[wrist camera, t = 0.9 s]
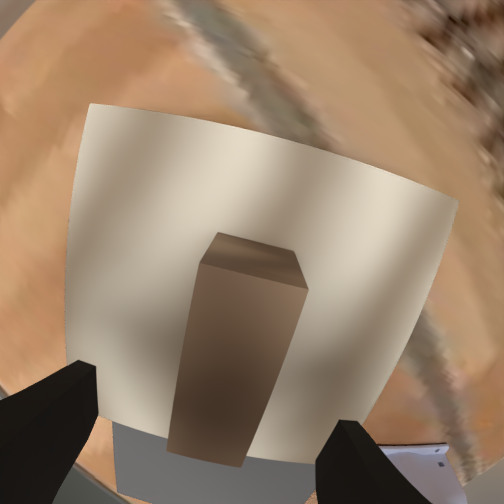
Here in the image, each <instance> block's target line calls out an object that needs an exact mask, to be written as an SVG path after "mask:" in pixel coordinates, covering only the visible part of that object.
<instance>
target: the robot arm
mask: <svg viewBox="0 0 504 504" xmlns="http://www.w3.org/2000/svg"><path fill="white" fill-rule="evenodd" d="M98 414H99V409H98V394H97V373H96V366H95V365H92V364H89V363H86V362H84V361H81V360H77V361H75V362H73V363H71V364H69V365H67V366H66V367H64V368H62V369H60V370H59V371H57V372H55V373H53V374H51V375H50V376H48V377H46V378H44V379H42V380H41V381H39V382H37V383H35V384H33V385H31V386H29V387H27V388H26V389H24V390H22V391H20V392H18V393H15V394H13V395H11V396H9V397H7V398H5V399H2V400H0V504H52V502H53V500H54V498H55V496H56V494H57V492H58V490H59V488H60V486H61V484H62V483H63V481H64V479H65V477H66V476H67V474H68V472H69V471H70V469H71V467H72V466H73V464H74V462H75V461H76V459H77V457H78V455H79V454H80V452H81V450H82V449H83V447H84V445H85V443H86V442H87V440H88V438H89V436H90V433H91V431H92V429H93V426H94V424H95V421H96V419H97V417H98ZM448 449H449V446H448V444H439V445H421V446H378V445H377V444H376V443H375V441H374V440H373V439H372V438H371V437H370V435H369V434H368V433H367V432H366V430H365V429H364V428H363V427H362V426H361V425H360V423H359V422H358V421H353V420H340V419H339V420H338V422H337V424H336V426H335V428H334V429H333V431H332V433H331V435H330V436H329V438H328V440H327V442H326V443H325V445H324V447H323V448H322V450H321V452H320V453H319V455H318V456H317V458H316V460H315V483H316V494H317V500H318V504H467V499H466V495H465V492H464V490H463V488H462V486H461V484H460V482H459V480H458V478H457V476H456V474H455V472H454V470H453V468H452V466H451V465H450V463H449V461H448V459H447V457H446V455H445V453H446V452H447V450H448Z"/></svg>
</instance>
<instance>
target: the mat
mask: <svg viewBox="0 0 504 504" xmlns="http://www.w3.org/2000/svg"><path fill="white" fill-rule="evenodd" d="M112 426H113V447H114V462H115V474H116V484H117V492H118V493H121V494H123V495H126V496H129V497H133V498H136V499H139V500H142V501H145V502H149V503H152V504H304V503H305V502H306V501H307V499H308V498H309V497H310V496H311V494H312V493H313V492H314V491H315V489H316V483H315V464H307V463H296V462H286V461H278V460H270V459H263V458H256V457H250V456H246V457H245V460H244V462H243V464H242V467H241V468H238V467H232V466H227V465H222V464H216V463H212V462H207V461H202V460H198V459H193V458H189V457H185V456H181V455H177V454H173V453H170V452H166V448H167V441H168V439H167V438H164V437H160V436H157V435H153V434H150V433H147V432H144V431H140V430H137V429H134V428H131V427H128V426H125V425H122V424H119V423H117V422H114V421H112Z"/></svg>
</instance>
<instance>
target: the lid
mask: <svg viewBox="0 0 504 504" xmlns="http://www.w3.org/2000/svg"><path fill="white" fill-rule="evenodd" d="M458 204H459V200H457V199H454V198H452V197H450V196H448V195H445V194H443V193H441V192H438V191H436V190H433V189H431V188H429V187H426V186H424V185H421V184H419V183H416V182H414V181H411V180H409V179H406V178H403V177H401V176H398V175H395V174H393V173H390V172H387V171H385V170H382V169H379V168H376V167H373V166H371V165H368V164H365V163H362V162H359V161H356V160H353V159H350V158H347V157H344V156H341V155H337V154H334V153H331V152H328V151H325V150H321V149H318V148H315V147H311V146H308V145H304V144H301V143H297V142H294V141H290V140H286V139H283V138H279V137H275V136H271V135H267V134H263V133H259V132H255V131H251V130H247V129H243V128H238V127H234V126H229V125H225V124H220V123H215V122H211V121H206V120H201V119H195V118H190V117H185V116H179V115H173V114H167V113H161V112H155V111H148V110H142V109H134V108H127V107H119V106H111V105H102V104H92V103H90V106H89V110H88V114H87V118H86V122H85V127H84V131H83V136H82V140H81V145H80V150H79V156H78V161H77V167H76V173H75V179H74V186H73V193H72V200H71V208H70V217H69V227H68V238H67V251H66V270H65V341H66V359H67V365H69V364H71V363H73V362H75V361H77V360H81V361H84V362H86V363H89V364H92V365H95V366H96V373H97V394H98V409H99V414H98V416H100V417H103V418H106V419H108V420H111V421H114V422H117V423H119V424H122V425H125V426H128V427H131V428H134V429H137V430H140V431H144V432H147V433H150V434H153V435H157V436H160V437H164V438H167V439H168V441H167V448H166V452H170V453H173V454H177V455H181V456H185V457H189V458H193V459H198V460H202V461H207V462H212V463H216V464H222V465H227V466H232V467H238V468H241V467H242V464H243V462H244V460H245V457H246V456H250V457H256V458H263V459H270V460H278V461H286V462H296V463H307V464H315V460H316V458H317V456H318V455H319V453H320V452H321V450H322V448H323V447H324V445H325V443H326V442H327V440H328V438H329V436H330V435H331V433H332V431H333V429H334V428H335V426H336V424H337V422H338V420H339V419H340V420H353V421H358V422H359V423H360V425H361V426H362V424H363V423H364V421H365V419H366V418H367V416H368V414H369V413H370V411H371V409H372V408H373V406H374V404H375V402H376V401H377V399H378V397H379V396H380V394H381V392H382V390H383V388H384V387H385V385H386V383H387V381H388V379H389V377H390V375H391V374H392V372H393V370H394V368H395V366H396V364H397V362H398V360H399V358H400V356H401V354H402V352H403V350H404V348H405V346H406V344H407V341H408V339H409V337H410V335H411V333H412V331H413V329H414V326H415V324H416V322H417V320H418V317H419V315H420V313H421V310H422V308H423V306H424V303H425V301H426V298H427V296H428V293H429V291H430V288H431V286H432V283H433V281H434V278H435V275H436V273H437V270H438V267H439V264H440V261H441V259H442V256H443V253H444V250H445V247H446V244H447V241H448V238H449V235H450V231H451V228H452V225H453V221H454V218H455V215H456V211H457V208H458Z"/></svg>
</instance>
